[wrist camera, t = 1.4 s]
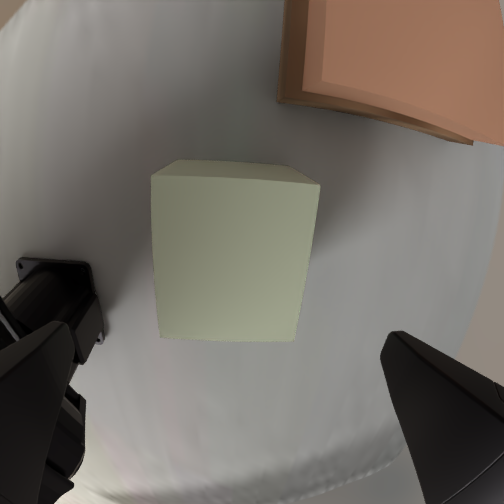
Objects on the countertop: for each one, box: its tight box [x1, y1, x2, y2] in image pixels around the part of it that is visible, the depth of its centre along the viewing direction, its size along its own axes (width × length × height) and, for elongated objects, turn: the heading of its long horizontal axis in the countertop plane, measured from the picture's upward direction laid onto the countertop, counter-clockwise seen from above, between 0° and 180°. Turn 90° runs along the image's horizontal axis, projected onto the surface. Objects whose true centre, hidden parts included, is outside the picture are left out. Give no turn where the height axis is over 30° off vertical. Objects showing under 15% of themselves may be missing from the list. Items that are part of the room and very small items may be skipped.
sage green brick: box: [151, 160, 321, 342], centre depth 14 cm, size 6×7×6 cm
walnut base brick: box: [277, 0, 473, 146], centre depth 12 cm, size 12×12×3 cm
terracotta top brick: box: [302, 0, 504, 146], centre depth 9 cm, size 11×11×3 cm
